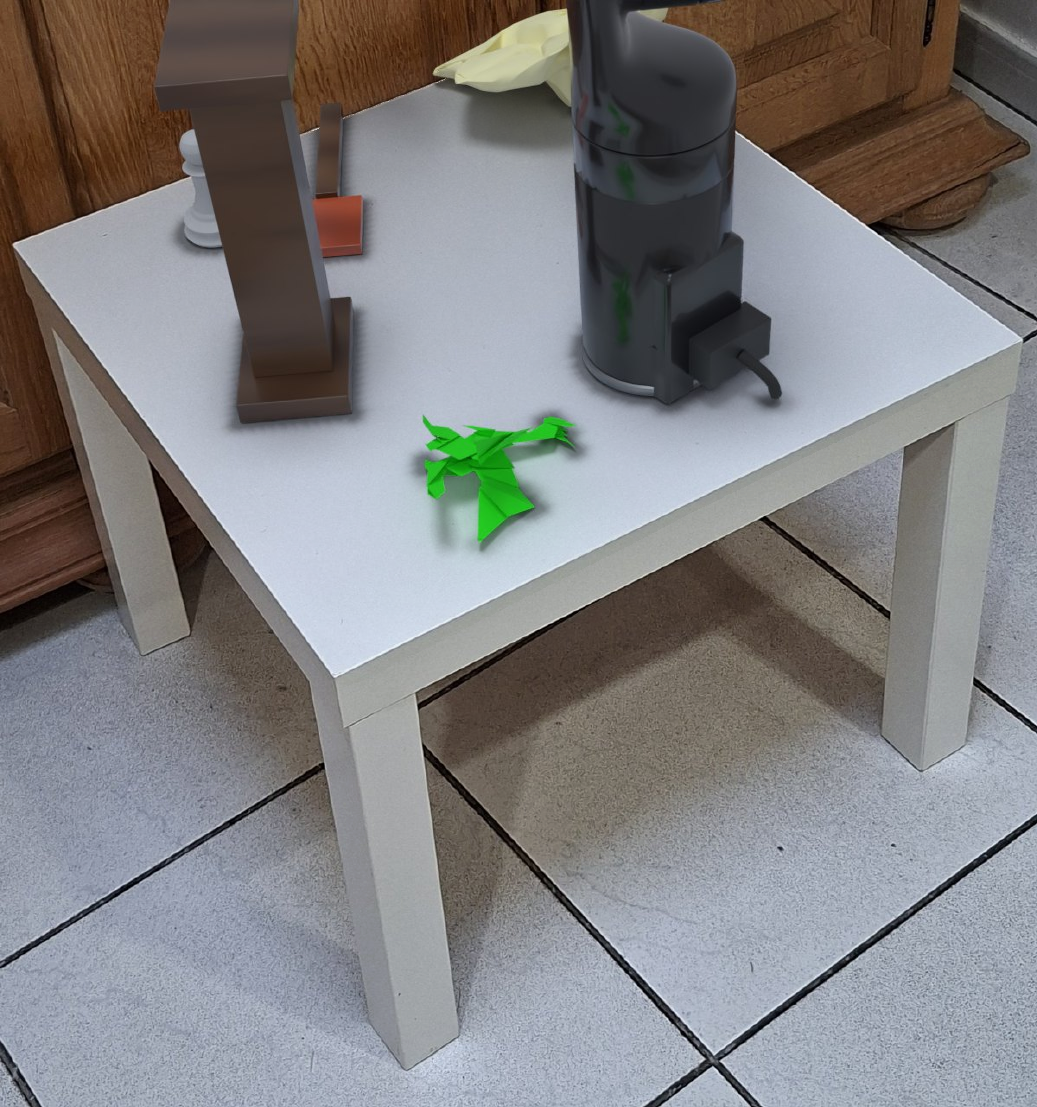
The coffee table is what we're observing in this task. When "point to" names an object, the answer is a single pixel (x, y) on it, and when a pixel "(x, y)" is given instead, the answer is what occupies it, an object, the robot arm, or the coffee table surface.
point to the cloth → (523, 56)
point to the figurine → (486, 466)
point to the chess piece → (198, 197)
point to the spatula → (335, 191)
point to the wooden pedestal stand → (261, 201)
